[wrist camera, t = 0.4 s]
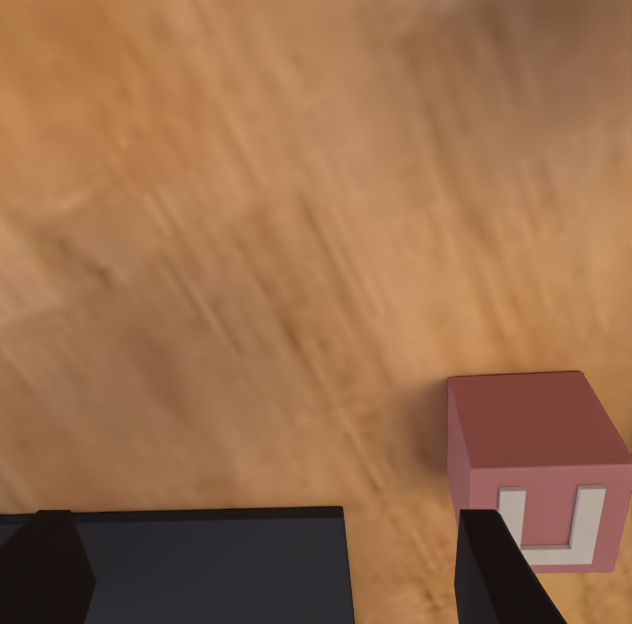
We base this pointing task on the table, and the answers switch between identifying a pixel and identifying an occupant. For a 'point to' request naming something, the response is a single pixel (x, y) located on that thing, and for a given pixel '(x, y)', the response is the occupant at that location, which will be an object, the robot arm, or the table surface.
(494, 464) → the block
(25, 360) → the table surface
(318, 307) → the table surface
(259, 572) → the word mat
